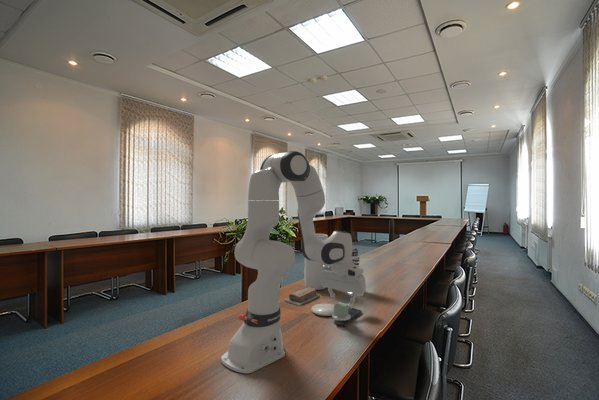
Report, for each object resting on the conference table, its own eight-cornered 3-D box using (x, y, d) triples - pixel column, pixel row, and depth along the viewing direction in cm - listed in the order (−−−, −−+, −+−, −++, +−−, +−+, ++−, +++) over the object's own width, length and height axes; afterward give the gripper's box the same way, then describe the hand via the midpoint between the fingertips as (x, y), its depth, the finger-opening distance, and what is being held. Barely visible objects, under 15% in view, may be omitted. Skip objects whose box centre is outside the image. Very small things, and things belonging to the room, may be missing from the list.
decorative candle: (360, 292, 164) (361, 249, 164) (344, 292, 165) (344, 248, 164) (357, 287, 174) (358, 246, 173) (342, 287, 174) (342, 246, 174)
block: (343, 318, 121) (343, 307, 121) (334, 315, 123) (334, 305, 123) (348, 314, 124) (348, 304, 124) (339, 312, 127) (338, 302, 127)
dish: (330, 319, 127) (330, 316, 127) (306, 312, 135) (306, 309, 135) (344, 310, 138) (344, 307, 138) (320, 304, 146) (320, 301, 146)
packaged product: (305, 285, 164) (319, 288, 158) (305, 293, 164) (319, 297, 158) (284, 293, 150) (299, 297, 144) (284, 302, 150) (299, 307, 144)
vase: (321, 292, 165) (321, 237, 165) (299, 288, 173) (300, 235, 172) (331, 285, 177) (332, 234, 177) (311, 282, 185) (311, 233, 185)
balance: (345, 329, 118) (345, 305, 118) (328, 324, 123) (328, 300, 123) (366, 312, 136) (366, 291, 136) (350, 308, 141) (351, 287, 141)
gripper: (317, 266, 127) (318, 297, 128) (361, 273, 115) (361, 307, 116) (324, 263, 132) (325, 293, 133) (367, 269, 121) (367, 302, 121)
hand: (342, 300), depth 124 cm, fingers open, 8 cm apart
